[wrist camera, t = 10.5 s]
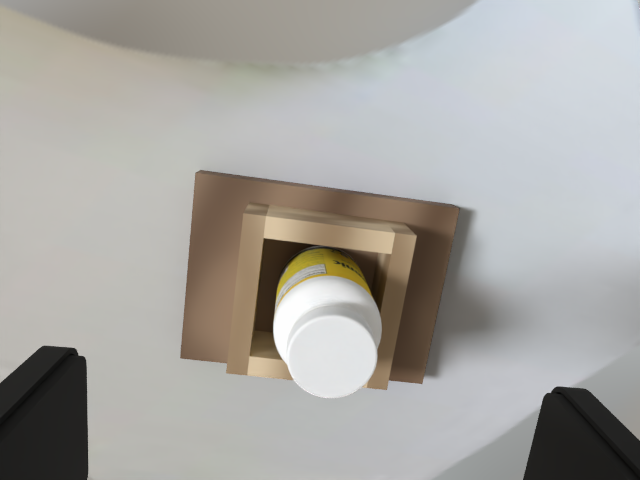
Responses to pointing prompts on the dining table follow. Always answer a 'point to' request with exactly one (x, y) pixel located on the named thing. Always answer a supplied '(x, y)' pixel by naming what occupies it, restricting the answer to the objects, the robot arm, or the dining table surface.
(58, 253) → the dining table surface
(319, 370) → the supplement bottle
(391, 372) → the socket board
